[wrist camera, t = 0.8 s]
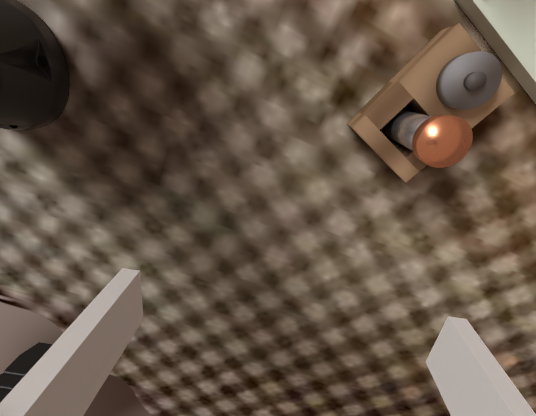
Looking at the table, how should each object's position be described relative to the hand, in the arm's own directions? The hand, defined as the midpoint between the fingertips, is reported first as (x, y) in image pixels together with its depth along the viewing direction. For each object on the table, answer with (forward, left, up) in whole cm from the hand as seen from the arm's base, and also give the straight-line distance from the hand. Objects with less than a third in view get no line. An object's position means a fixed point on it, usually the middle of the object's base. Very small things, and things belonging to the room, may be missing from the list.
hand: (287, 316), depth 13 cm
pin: (+5, +12, -28) cm, 30 cm away
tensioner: (+5, +14, -28) cm, 32 cm away
